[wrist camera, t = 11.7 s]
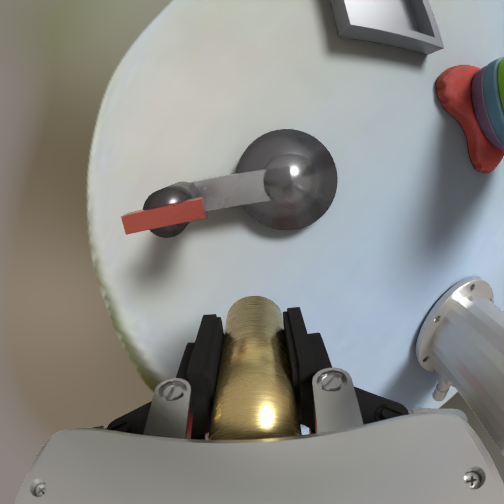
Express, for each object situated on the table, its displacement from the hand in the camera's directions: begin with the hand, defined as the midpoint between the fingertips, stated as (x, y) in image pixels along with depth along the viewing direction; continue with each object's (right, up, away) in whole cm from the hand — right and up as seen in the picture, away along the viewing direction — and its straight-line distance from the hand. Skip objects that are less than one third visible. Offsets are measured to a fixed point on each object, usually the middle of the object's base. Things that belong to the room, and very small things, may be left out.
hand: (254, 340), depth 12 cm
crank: (-1, +8, +6) cm, 10 cm away
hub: (+2, +9, +7) cm, 12 cm away
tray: (+11, +25, +2) cm, 28 cm away
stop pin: (0, +1, +2) cm, 2 cm away
